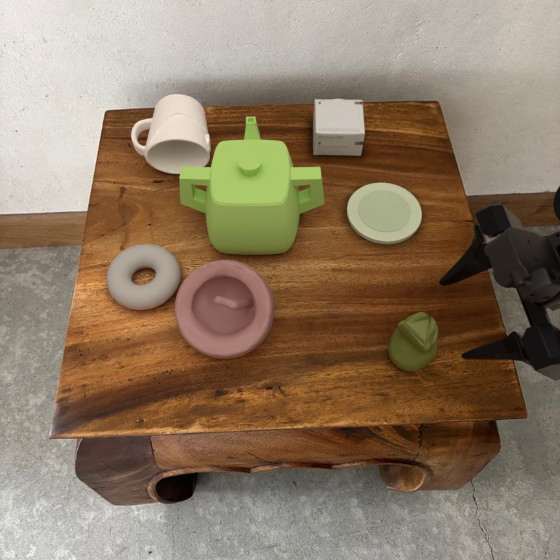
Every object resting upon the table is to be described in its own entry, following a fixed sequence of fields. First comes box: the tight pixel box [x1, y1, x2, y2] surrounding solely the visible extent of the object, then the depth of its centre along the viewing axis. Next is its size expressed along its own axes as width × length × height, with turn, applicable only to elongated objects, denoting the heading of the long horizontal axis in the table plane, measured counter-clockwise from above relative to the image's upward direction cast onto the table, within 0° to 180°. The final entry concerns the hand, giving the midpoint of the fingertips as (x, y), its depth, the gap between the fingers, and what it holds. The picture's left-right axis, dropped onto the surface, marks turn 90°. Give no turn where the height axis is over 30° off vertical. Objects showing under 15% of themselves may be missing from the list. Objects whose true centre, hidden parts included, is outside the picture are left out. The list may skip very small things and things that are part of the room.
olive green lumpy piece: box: [387, 311, 439, 373], centre depth 65 cm, size 6×5×10 cm
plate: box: [346, 182, 423, 245], centre depth 81 cm, size 11×11×1 cm
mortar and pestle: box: [174, 259, 276, 360], centre depth 67 cm, size 12×12×11 cm
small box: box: [312, 98, 366, 157], centre depth 87 cm, size 8×8×5 cm
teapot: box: [178, 116, 325, 256], centre depth 76 cm, size 18×20×13 cm
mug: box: [130, 93, 212, 175], centre depth 85 cm, size 12×9×8 cm
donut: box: [105, 243, 182, 311], centre depth 74 cm, size 10×4×10 cm
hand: (451, 319), depth 61 cm, fingers open, 9 cm apart
